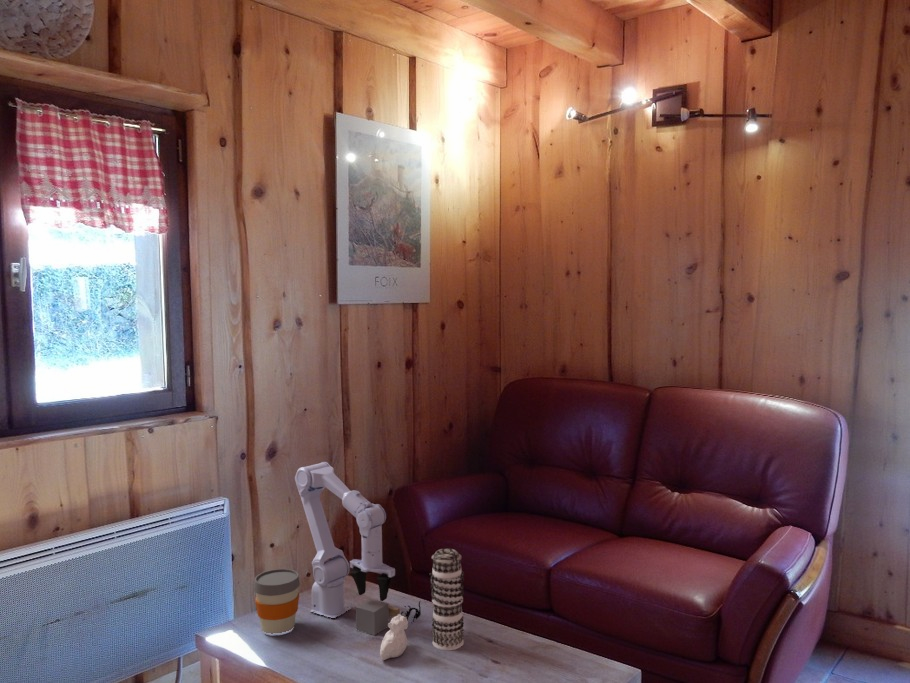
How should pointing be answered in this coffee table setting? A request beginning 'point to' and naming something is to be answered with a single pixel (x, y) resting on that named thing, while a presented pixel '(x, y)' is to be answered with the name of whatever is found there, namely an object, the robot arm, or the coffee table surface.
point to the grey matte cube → (372, 616)
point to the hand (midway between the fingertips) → (372, 596)
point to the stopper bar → (393, 611)
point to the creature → (411, 610)
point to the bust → (394, 638)
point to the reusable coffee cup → (277, 599)
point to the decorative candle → (447, 599)
